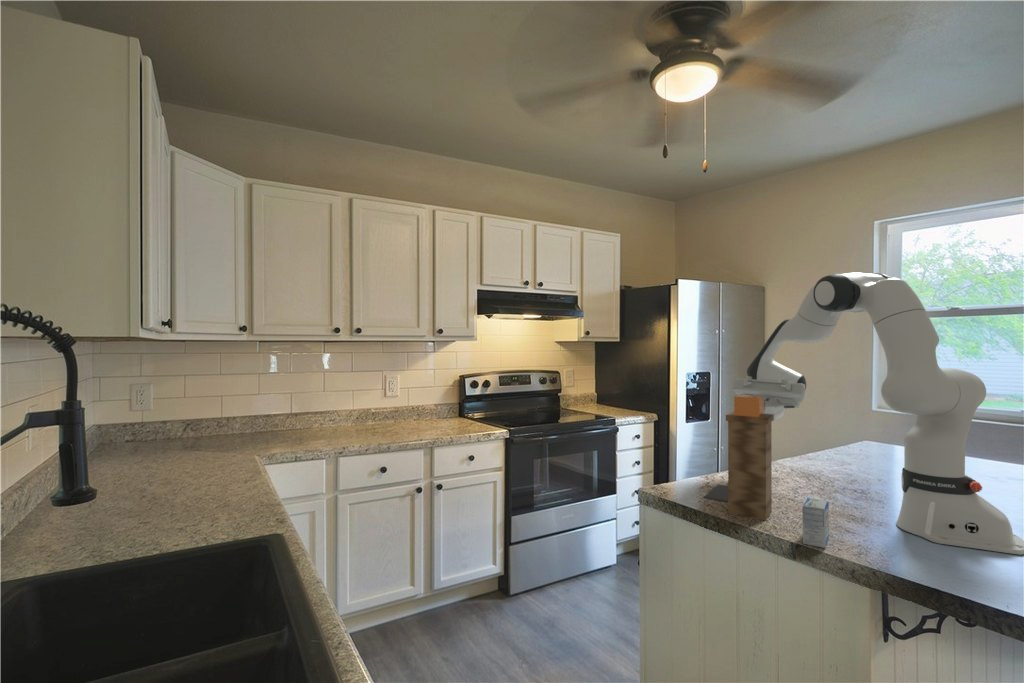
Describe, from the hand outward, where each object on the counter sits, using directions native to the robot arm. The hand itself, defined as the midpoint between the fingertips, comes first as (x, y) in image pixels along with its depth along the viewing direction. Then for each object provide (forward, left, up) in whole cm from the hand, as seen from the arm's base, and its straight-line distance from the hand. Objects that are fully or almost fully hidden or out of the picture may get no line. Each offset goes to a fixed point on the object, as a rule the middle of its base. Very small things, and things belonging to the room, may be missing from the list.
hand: (765, 380), depth 148 cm
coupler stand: (0, +21, -34) cm, 40 cm away
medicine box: (-16, +33, -34) cm, 50 cm away
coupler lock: (0, +17, -8) cm, 19 cm away
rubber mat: (+9, +8, -34) cm, 36 cm away
